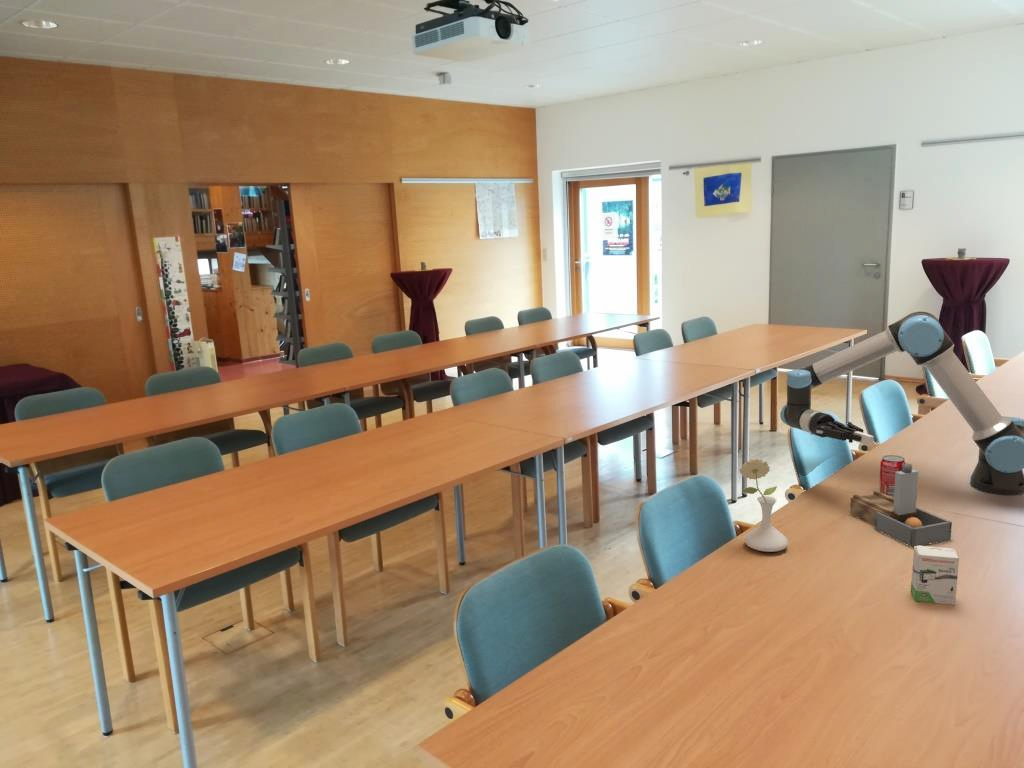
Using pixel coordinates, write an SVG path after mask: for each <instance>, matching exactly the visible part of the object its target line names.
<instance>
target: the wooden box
mask: <svg viewBox="0 0 1024 768" xmlns="http://www.w3.org/2000/svg"><path fill="white" fill-rule="evenodd" d="M893 506H894V498H892V497H890V496H888V495H885V494H883V493H881V492H879V490H874V491H873V494H868V495H863V496H862V495H861V496H860V495H859V494H857V493H855V494H853V495H852V497H850V509H849V510H850V511H849V513H850V515H852V516H853V517H855V518H857V517H858V518H857V519H860V520H861V521H863V520H864V522H865V521H866V523H867V522H868V523H867V524H869V523H870V524H869V525H871V524H872V525H871V526H873V525H874V527H875V517H876V512H880V513H882V514H884V515H886V516H889V517H891V518H893V519H899V518H904V517H910V516H915V515H917V514H918V510H916V512H914V513H908V514H903V515H897V514H895V513H894V511H893Z"/></svg>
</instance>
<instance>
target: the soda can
mask: <svg viewBox="0 0 1024 768" xmlns="http://www.w3.org/2000/svg"><path fill="white" fill-rule="evenodd" d="M881 458H882V459H881V461H880V469H879V470H880V471H879V490H878V492H881V493H883V494H885V495H888V496H890V497H892V498H894V489H895V472H899V471H902V464H904V463H906V462H905V457H903V456H901V455H894V454H887V455H882V457H881Z"/></svg>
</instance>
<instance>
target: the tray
mask: <svg viewBox="0 0 1024 768" xmlns="http://www.w3.org/2000/svg"><path fill="white" fill-rule="evenodd" d="M916 510H918V514H917V515H915V516H910V517H915V518H918V519H919V520H920V521H921V522H922V526H921V527H916V528H912V527H910V526H908V525H906V524H905V521H906V520H907V519H908V518H910V517H904V518H899V519H893V518H891V517H889V516H886V515H884V514H882V513H880V512H876V517H875V526H874V529H875V530H876V531H879V532H880V531H881V533H882V532H883V533H882V534H884V535H886V534H887V535H886V536H888V535H889V536H888V537H890V536H891V537H890V538H892V539H894V538H895V539H894V540H896V539H897V541H898V540H899V541H898V542H900V541H901V542H900V543H902V542H903V543H902V544H904V543H905V545H906V544H908V545H909V546H908V545H907V546H908V547H910V546H911V548H914V546H919V545H922V546H925V544H927V545H930V544H929V543H932V544H937V543H941V541H942V542H948V541H950V540H952V538H951V537H952V527H953V525H952V524H953V522H952V521H949V520H947V519H945V518H943V517H941V516H938V515H936V514H933V513H931V512H929V511H926V510H924V509H922V508H920V507H917V506H916ZM936 542H937V543H936Z"/></svg>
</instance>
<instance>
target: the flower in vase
mask: <svg viewBox="0 0 1024 768" xmlns="http://www.w3.org/2000/svg"><path fill="white" fill-rule="evenodd" d="M738 471H739V473H740V474H741V477H742V478H745V479H749V480H755V482H756V483H755V484H756V487H753V486H748V487H745V488H744V489H743V490H742V491H741V493H744V494H745V493H746V494H749V495H754V494H755V493H757V492H759V494H760V495H761V496H758V497H757V502H759V505H760V508H761V515H762V517H761V519H762V520H761V523H760V525H759V526H758V527H757V526H756V528H754V529H752V530H751V531H749V532H748V533H747V534H746V535H745V536H744V539H743V540H744V542H745V544H746V545H747V546H748V547H749V548H751V549H754V550H756V551H759V552H765V553H768V552H769V553H771V552H774V553H775V552H780V551H782V550H784V549H786V548H787V547H788V545H789V541H788V538H787V537H786V536H784V534H783V533H781V531H779V530H777V528H775V527H774V526H773V524H772V510H773V507H774V505H775V503H777V501H778V500H777V498H776V497H773V496H770V495H773V494H774V493H775V492H776V490H777V485H776V486H775V485H774V486H772V487H769V488H766V489H765V490H764V492H763V493H762V492H761V490H760V488H759V485H758V484H759V483H758V479H761V478H763V477H766V475H768V473H769V472H770V471H771V468H770V466H769V463H768V461H766V460H765V461H763V459H762V458H759V459H758V458H755V459H751V458H750V459H749V460H748V461H747V460H746V461H745V462H744V463H742V465H741V467H740V468H739V469H738Z"/></svg>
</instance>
